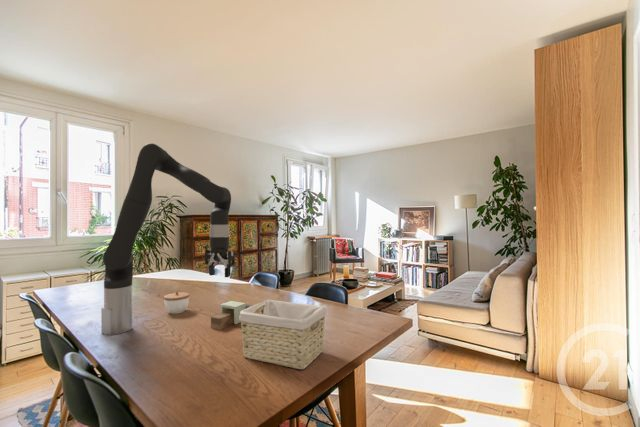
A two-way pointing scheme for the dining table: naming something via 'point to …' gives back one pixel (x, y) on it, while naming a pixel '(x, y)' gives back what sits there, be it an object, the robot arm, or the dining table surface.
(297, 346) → the storage basket
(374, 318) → the dining table surface
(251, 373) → the dining table surface
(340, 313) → the dining table surface
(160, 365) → the dining table surface
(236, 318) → the sage block
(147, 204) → the robot arm
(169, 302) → the lidded jar
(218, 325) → the walnut block
